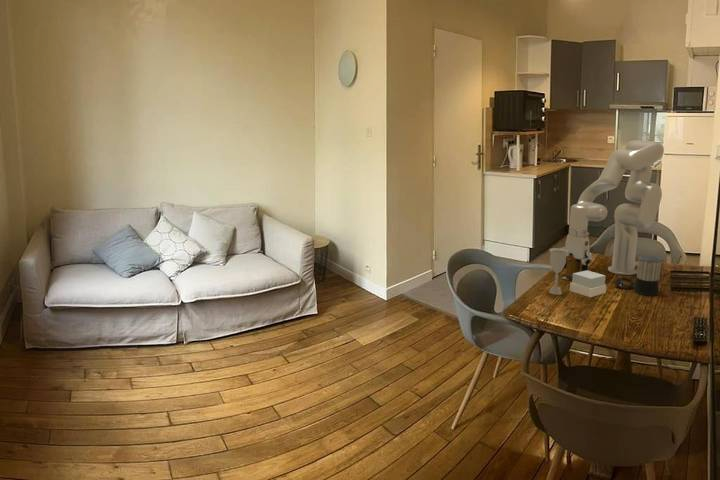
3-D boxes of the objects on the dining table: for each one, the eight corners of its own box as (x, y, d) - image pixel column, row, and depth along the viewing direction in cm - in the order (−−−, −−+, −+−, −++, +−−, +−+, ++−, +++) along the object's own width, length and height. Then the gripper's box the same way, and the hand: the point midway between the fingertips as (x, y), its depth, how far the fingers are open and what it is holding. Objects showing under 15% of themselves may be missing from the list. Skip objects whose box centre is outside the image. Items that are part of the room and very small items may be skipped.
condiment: (570, 275, 270) (572, 249, 267) (587, 279, 264) (589, 253, 261) (561, 278, 265) (563, 252, 263) (578, 282, 259) (580, 256, 256)
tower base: (584, 287, 253) (585, 278, 252) (605, 294, 245) (606, 284, 244) (569, 292, 248) (570, 282, 247) (590, 298, 240) (591, 289, 239)
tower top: (586, 279, 252) (587, 270, 251) (604, 284, 244) (605, 275, 243) (572, 282, 247) (572, 273, 246) (590, 288, 240) (591, 278, 239)
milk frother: (661, 296, 240) (665, 261, 237) (619, 294, 243) (623, 259, 240) (651, 286, 254) (655, 252, 250) (612, 284, 257) (615, 250, 253)
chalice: (544, 293, 244) (547, 251, 240) (548, 289, 250) (551, 247, 246) (563, 296, 241) (566, 253, 237) (566, 291, 247) (569, 249, 243)
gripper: (600, 235, 255) (597, 273, 259) (567, 228, 269) (564, 264, 273) (589, 237, 251) (586, 276, 255) (556, 230, 265) (553, 267, 269)
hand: (574, 270), depth 264 cm, fingers open, 9 cm apart
